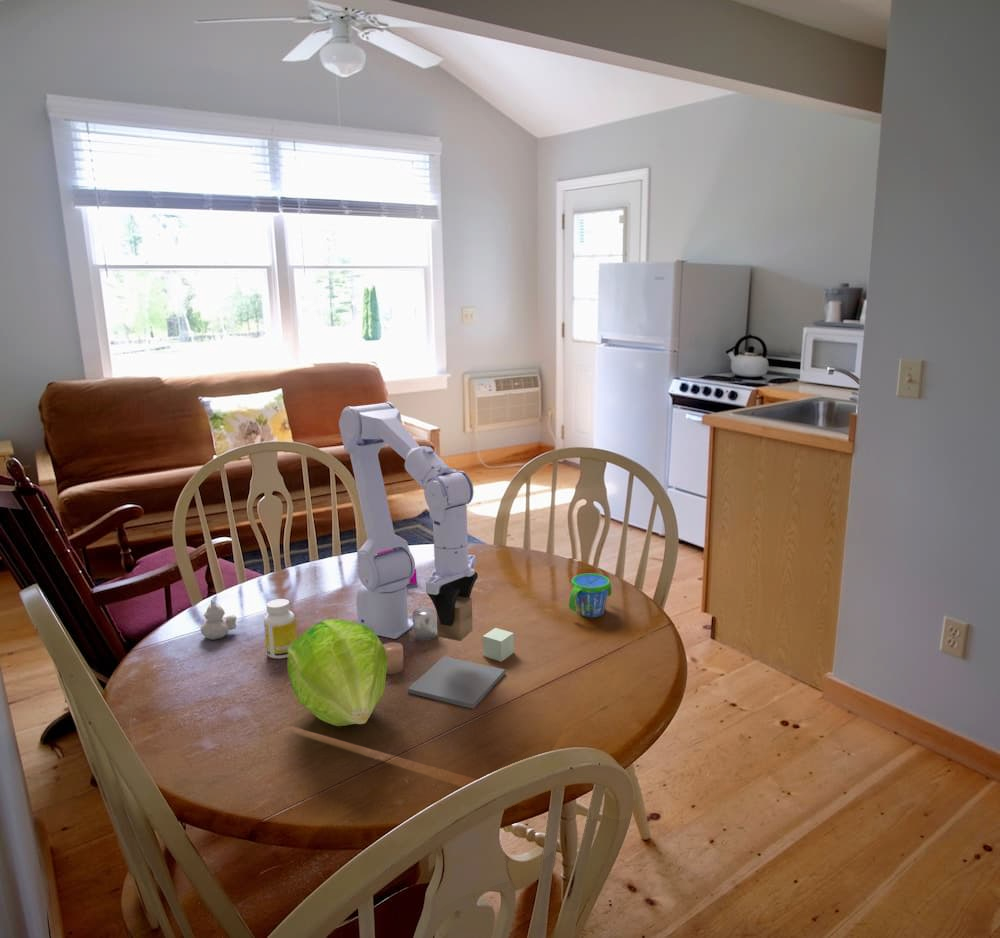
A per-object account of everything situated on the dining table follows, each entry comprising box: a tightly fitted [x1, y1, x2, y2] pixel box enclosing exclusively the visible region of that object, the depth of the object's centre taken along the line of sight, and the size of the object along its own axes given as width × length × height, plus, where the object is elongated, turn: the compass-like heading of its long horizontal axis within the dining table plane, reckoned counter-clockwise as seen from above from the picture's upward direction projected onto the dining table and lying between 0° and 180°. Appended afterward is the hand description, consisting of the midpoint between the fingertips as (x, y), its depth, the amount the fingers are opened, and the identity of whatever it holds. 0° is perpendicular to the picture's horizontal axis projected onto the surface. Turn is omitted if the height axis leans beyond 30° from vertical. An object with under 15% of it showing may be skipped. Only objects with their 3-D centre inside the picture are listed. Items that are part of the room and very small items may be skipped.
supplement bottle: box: [263, 598, 298, 660], centre depth 131 cm, size 5×5×10 cm
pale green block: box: [482, 627, 515, 663], centre depth 130 cm, size 4×4×4 cm
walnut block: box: [436, 596, 473, 642], centre depth 124 cm, size 4×4×6 cm
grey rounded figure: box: [200, 599, 237, 641], centre depth 138 cm, size 5×7×8 cm
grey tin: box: [412, 607, 437, 642], centre depth 137 cm, size 4×4×5 cm
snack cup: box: [568, 572, 613, 618], centre depth 146 cm, size 11×8×7 cm
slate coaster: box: [407, 656, 506, 710], centre depth 120 cm, size 12×12×1 cm
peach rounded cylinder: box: [382, 641, 405, 675], centre depth 125 cm, size 4×4×4 cm
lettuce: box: [286, 618, 388, 727], centre depth 107 cm, size 15×22×15 cm, turn 20°
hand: (453, 618), depth 124 cm, fingers closed on walnut block, 4 cm apart
